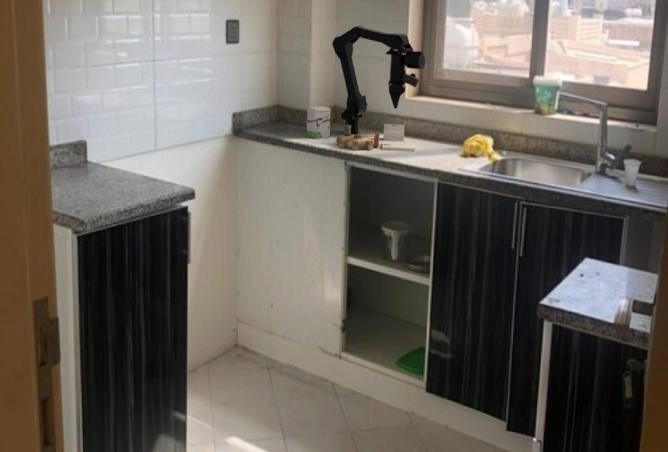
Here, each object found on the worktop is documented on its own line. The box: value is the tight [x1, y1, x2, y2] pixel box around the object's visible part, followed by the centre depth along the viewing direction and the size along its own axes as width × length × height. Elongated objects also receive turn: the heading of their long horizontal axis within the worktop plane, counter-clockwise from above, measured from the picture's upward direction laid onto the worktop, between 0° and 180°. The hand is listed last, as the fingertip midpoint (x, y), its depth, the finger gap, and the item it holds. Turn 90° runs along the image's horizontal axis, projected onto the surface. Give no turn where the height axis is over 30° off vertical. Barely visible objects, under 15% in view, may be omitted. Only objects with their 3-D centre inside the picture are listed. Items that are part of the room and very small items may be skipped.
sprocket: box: [335, 124, 380, 151], centre depth 321 cm, size 16×16×7 cm
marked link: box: [382, 123, 405, 142], centre depth 336 cm, size 4×8×6 cm, turn 87°
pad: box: [381, 140, 416, 152], centre depth 322 cm, size 11×12×1 cm
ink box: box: [306, 105, 331, 140], centre depth 335 cm, size 9×5×12 cm, turn 134°
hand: (395, 107), depth 333 cm, fingers open, 6 cm apart
